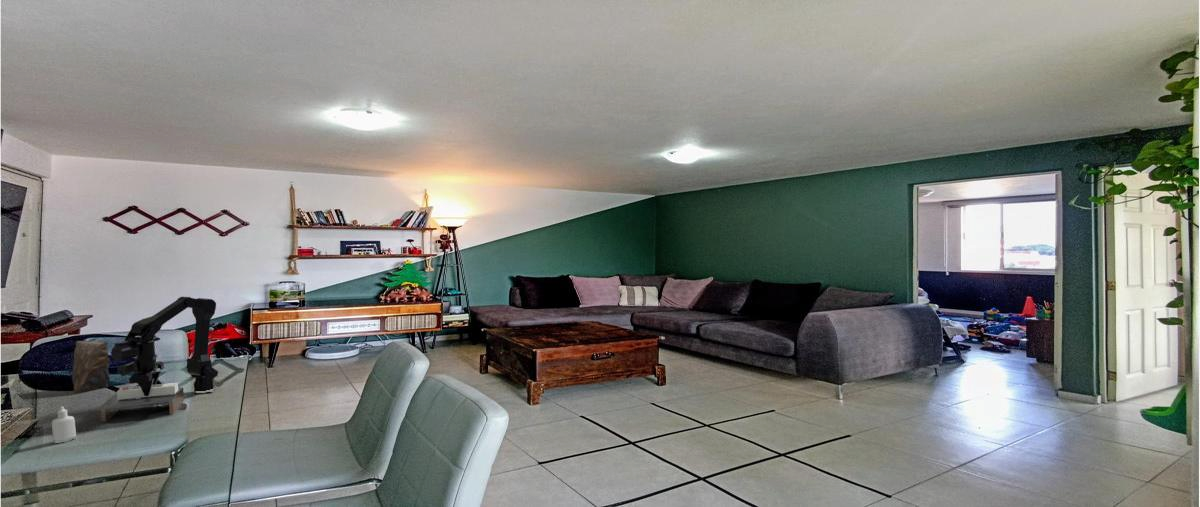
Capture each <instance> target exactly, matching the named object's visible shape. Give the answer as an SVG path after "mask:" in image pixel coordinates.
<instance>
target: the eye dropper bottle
mask: <svg viewBox="0 0 1200 507" xmlns="http://www.w3.org/2000/svg"><path fill="white" fill-rule="evenodd" d="M51 428H52V430H51V431H52V439H54V440H64V439H68V438H71V437H75V436H76V437H77V429H76V420H75V417H74V416H72V415H68V409H67V408H66V409H65V407H64V406H60V407H59V410H58V411H57V417H56V418H55V419H53V420H52V421H51Z"/></svg>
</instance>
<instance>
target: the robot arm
mask: <svg viewBox="0 0 1200 507" xmlns="http://www.w3.org/2000/svg"><path fill="white" fill-rule="evenodd" d="M188 308H190V309H191V310H192V315H193V316H194V318H195V328H194V343H193V344H194V345H193V354H192V355H191V357H190V358H187V359H186V366H185V369H186V370H187V373H189V374H190V376H191V378H192V379H193V378H194V382H193V391H194V392H195V391H206V390H210V389H213V388H214V387H216V384H215V383H216V382H215V381H216V380H215V378H217V377H218V374H219V371H218V370H217V369H216V368H214V367H212V366H213V365H212V359H211V358H210V355H209V353H208V352H209V342H210V327H211V319H212V318H213V316H215V314H216V313H215V312H216V309H217V302H216V301H215V300H214V299H212V298H202V297H201V298H200V297H198V298H193V297H190V296H180V297H178V298H177V299H176V300H175V301H173V302H172V303H170V304H169V305H167V306H166V307H164V308H162V309H161V310H160V311H158V312H157V313H155V314H154V315H152V316H149V317H145V318H142V319H140V320H138V321H136V322H134V323H133V324H132V325H131V329H130V330H129V332H128V334H127V335H126V337H124V341H120V342H115V343H114V346H113V347H112V349H111V351H110V355H111V358H112V360H113V361H114V362H123V361H125V360H130V359H133V361H131V362H129V363H124V364H122V365H120V366H118V368H117V374H118V375H120V376H121V377H125V376H126V375H128V374H131V373H133V374H132V375H131V376H130V377H129V378H128V384H132V385H134V384H136V385H137V384H138V386H140V387H141V389H142V391H143V393H144V395H145V396H148V395H149V393H150V390H151V387H152V385H156V384H157V382H158V380H159V378H160V375H161V373H162V370H164V369H165V363H164V362H163V361H157V359H156V358H158V354H156V349H155V348H156V345H155V342H156V341H157V342H158V341H160V340H161V338H160V337H159V336H157V335H156V334H158V332H159V331H161V329H162V327H163V325H164V324H166V323H167V322H169V321H170V320H172V319H173V318H174V317H176V316H178V315H179V314H181V313H182V312H184V311H185V310H186V309H188ZM134 358H135V359H134ZM158 369H159V370H160V371H159V370H158Z"/></svg>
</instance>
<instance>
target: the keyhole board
mask: <svg viewBox="0 0 1200 507" xmlns="http://www.w3.org/2000/svg"><path fill="white" fill-rule="evenodd" d="M184 396H185V395H184V387H183V386H182V387H178V391H177V392H176V394H170V395H167V396H162V395H160V396H150V397H140V398H135V399H131V398H130V399H120V400H118V398H117V393H115V394H114V395H112V396H110V398H109V399H107V400H106V401H105V402H104V403H103V404H101V405H100V416H101V417H100V418H101V423H106V422H107V421H109V420H110V419H111V418H112V417H113V416H114V415H115V414H116V413H117V412H118V411H119V410H120V409H121V408H123V407H125V408H126V407H132V406H133V407H134V406H143V405H153V404H163V403H168V405H169V406H168V409H169V415H174V414H176V412H178V410H179V409H180V408H181V406H182V405H183V404H184V403H183V401H184V402H185V397H184ZM182 403H183V404H182ZM181 404H182V405H181Z"/></svg>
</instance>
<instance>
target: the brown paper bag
mask: <svg viewBox="0 0 1200 507" xmlns="http://www.w3.org/2000/svg"><path fill="white" fill-rule="evenodd" d="M108 344H109V343H108V342H106V341H103V340H100V339H99V340H94V341H93V340H91V341H90V340H89V341H84V340H76V341H75V348H74V353H73V366H72V373H71V381H72V385H73V393H74V395H80V394H84V393H87V392H88V393H89V392H92V391H98V390H102V389H105V388H109V387H110V385H108V383H109V381H111V377H110V370H109V366H110V363H111V359H110V357H109V351H108Z"/></svg>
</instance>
